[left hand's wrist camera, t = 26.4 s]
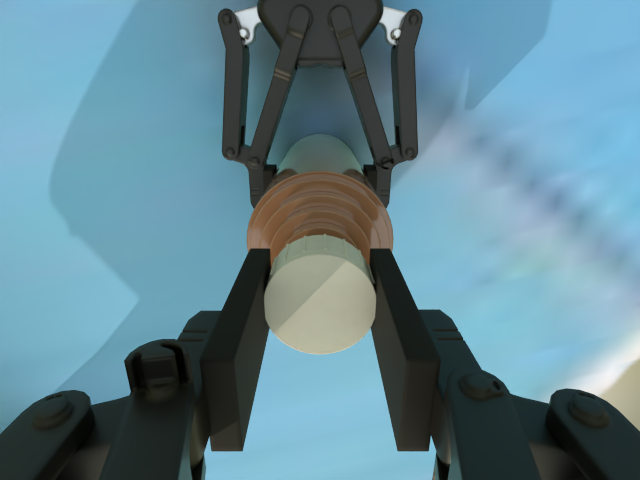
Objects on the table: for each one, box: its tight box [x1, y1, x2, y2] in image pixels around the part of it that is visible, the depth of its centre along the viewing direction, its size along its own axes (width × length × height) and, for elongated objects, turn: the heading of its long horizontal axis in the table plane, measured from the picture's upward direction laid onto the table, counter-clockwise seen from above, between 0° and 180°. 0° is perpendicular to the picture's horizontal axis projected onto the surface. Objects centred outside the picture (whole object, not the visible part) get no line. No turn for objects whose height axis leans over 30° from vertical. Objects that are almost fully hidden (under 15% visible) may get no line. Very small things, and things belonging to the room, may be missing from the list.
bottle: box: [247, 134, 393, 267], centre depth 25 cm, size 7×7×24 cm
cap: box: [264, 234, 376, 354], centre depth 14 cm, size 4×4×2 cm
